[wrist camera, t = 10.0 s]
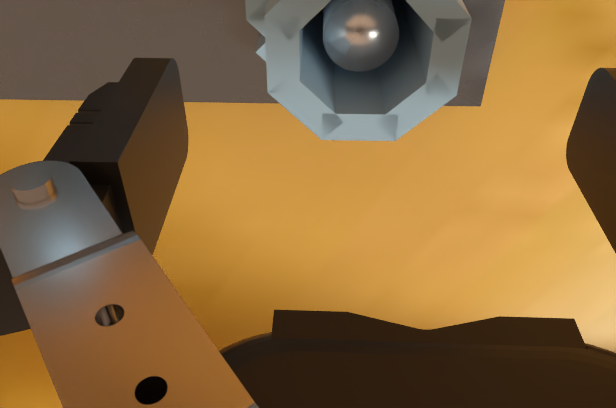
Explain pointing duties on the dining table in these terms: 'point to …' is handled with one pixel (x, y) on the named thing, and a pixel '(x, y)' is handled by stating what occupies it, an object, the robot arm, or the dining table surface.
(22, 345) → the dining table surface
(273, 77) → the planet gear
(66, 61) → the gear carrier
